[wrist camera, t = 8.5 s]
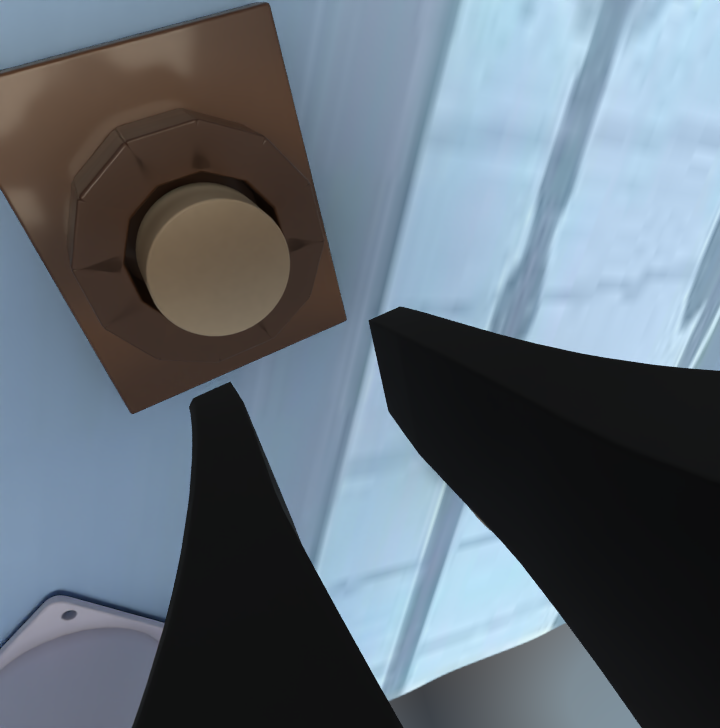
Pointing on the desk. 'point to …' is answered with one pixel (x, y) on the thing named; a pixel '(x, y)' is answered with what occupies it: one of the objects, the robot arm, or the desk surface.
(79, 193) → the control block
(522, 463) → the robot arm
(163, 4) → the desk surface
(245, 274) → the button
